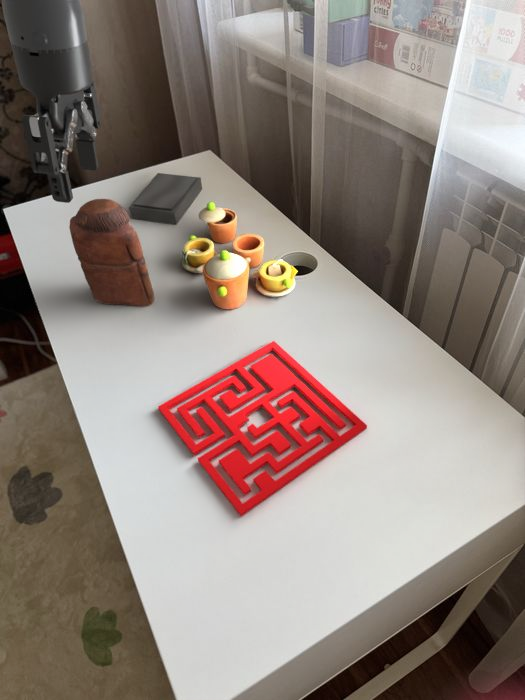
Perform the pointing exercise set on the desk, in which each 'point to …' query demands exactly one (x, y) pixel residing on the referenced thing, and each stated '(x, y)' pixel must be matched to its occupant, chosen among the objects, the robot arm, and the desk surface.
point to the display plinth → (166, 198)
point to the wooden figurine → (111, 254)
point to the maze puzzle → (235, 461)
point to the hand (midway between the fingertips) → (77, 184)
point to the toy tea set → (234, 261)
